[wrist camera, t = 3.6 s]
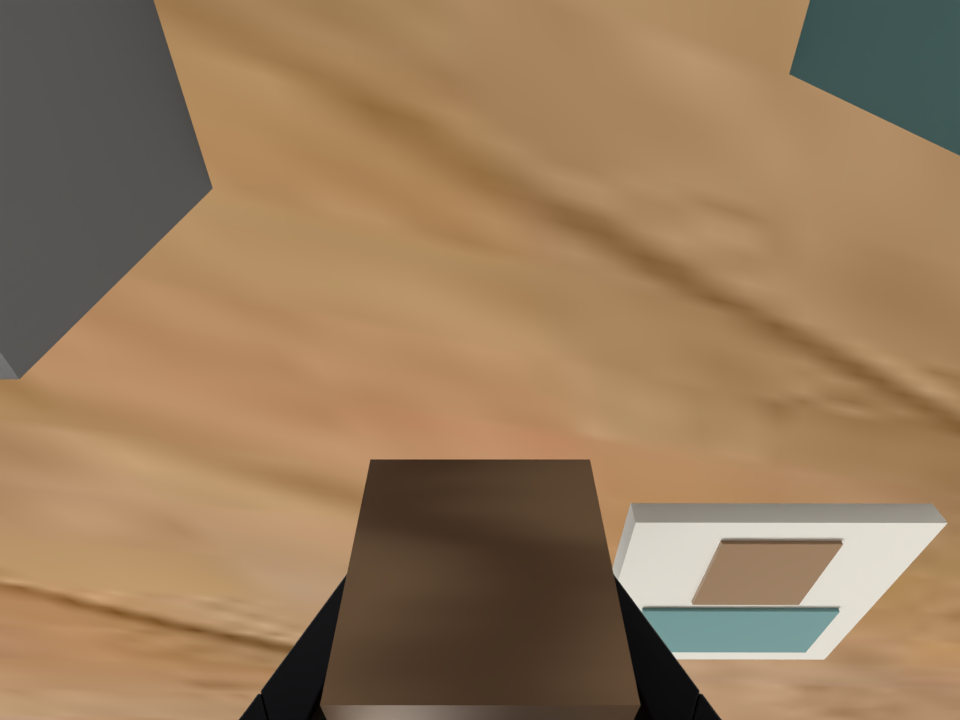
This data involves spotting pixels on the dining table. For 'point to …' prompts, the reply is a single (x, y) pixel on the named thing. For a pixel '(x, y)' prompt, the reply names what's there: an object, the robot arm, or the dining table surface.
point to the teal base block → (888, 61)
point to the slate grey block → (84, 161)
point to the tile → (765, 572)
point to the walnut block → (480, 597)
